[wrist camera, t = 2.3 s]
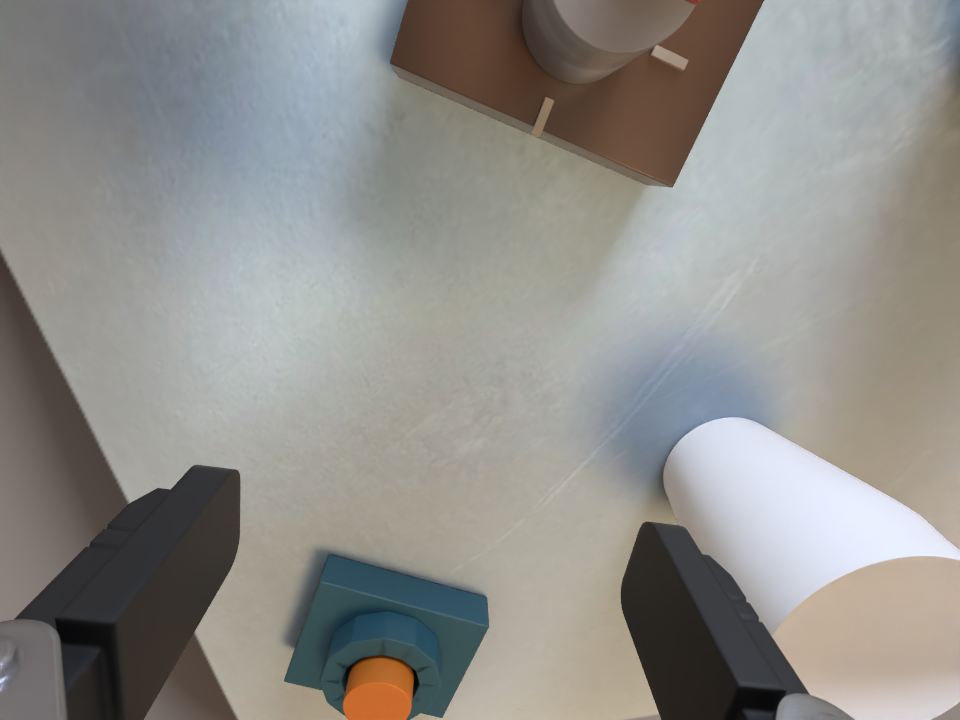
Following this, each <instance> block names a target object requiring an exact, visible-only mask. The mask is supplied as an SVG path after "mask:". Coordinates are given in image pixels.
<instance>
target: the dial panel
mask: <svg viewBox="0 0 960 720" xmlns="http://www.w3.org/2000/svg"><path fill="white" fill-rule="evenodd" d="M763 1H764V0H700V2H698V3H697V4H696V6H695V7H694V9H693V10H692V12H691V13H690V15H689V16H688V18H687V19H686V20H685V21H684V23H683V24H682V25H681V26H680V27H679V28H678V29H677V30H676V31H675V32H674V33H673V34H672V35H670V36H669V37H668V38H666V39H665V40H664V41H662V42H661V43H659V44H658V45H656V46H654V47H653V48H651V49H650V50H648V51H646V52H645V53H643V54H642V55H640V56H638V57H637V58H635V59H634V60H632V61H630V62H629V63H627V64H626V65H624V66H622V67H621V68H619V69H617V70H616V71H614V72H613V73H611V74H609V75H608V76H606V77H604V78H602V79H600V80H597V81H595V82H591V83H585V84H572V83H567V82H563V81H561V80H558V79H556V78H554V77H552V76H551V75H549V74H548V73H547V72H545V71H544V70H543V69H542V68H541V67H540V66H539V65H538V63H537V62H536V61H535V60H534V58H533V56H532V55H531V53H530V51H529V49H528V46H527V44H526V41H525V37H524V33H523V27H522V6H523V0H408V2H407V5H406V8H405V12H404V15H403V19H402V22H401V25H400V29H399V32H398V36H397V39H396V42H395V46H394V49H393V53H392V56H391V60H390V64H391V66H392V67H393V69H394V70H395V72H396V73H397V75H398V76H399V77H400V78H402V79H405V80H407V81H409V82H412V83H414V84H416V85H418V86H421V87H423V88H425V89H428V90H430V91H432V92H435V93H437V94H439V95H441V96H444V97H446V98H448V99H451V100H453V101H455V102H457V103H460V104H462V105H464V106H467V107H469V108H471V109H474V110H476V111H478V112H480V113H483V114H485V115H487V116H490V117H492V118H494V119H496V120H499V121H501V122H503V123H506V124H508V125H510V126H513V127H515V128H517V129H519V130H522V131H524V132H526V133H529V134H531V135H533V136H535V137H538V138H540V139H542V140H545V141H547V142H549V143H552V144H554V145H556V146H558V147H561V148H563V149H565V150H568V151H570V152H572V153H574V154H577V155H579V156H581V157H584V158H586V159H588V160H590V161H593V162H595V163H597V164H600V165H602V166H604V167H607V168H609V169H611V170H613V171H616V172H618V173H620V174H623V175H625V176H627V177H629V178H632V179H634V180H636V181H639V182H641V183H643V184H646V185H652V186H663V187H673V186H674V183H675V181H676V179H677V177H678V175H679V173H680V171H681V169H682V167H683V165H684V163H685V161H686V159H687V157H688V155H689V153H690V151H691V149H692V147H693V145H694V143H695V140H696V138H697V136H698V134H699V132H700V130H701V128H702V126H703V124H704V122H705V120H706V118H707V116H708V114H709V112H710V110H711V108H712V106H713V104H714V102H715V99H716V97H717V95H718V93H719V91H720V89H721V87H722V85H723V83H724V81H725V79H726V77H727V75H728V73H729V71H730V69H731V67H732V65H733V63H734V61H735V59H736V56H737V54H738V52H739V50H740V48H741V46H742V44H743V42H744V40H745V38H746V36H747V34H748V32H749V30H750V28H751V26H752V24H753V22H754V20H755V18H756V15H757V13H758V11H759V9H760V7H761V5H762V3H763Z"/></svg>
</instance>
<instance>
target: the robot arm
mask: <svg viewBox="0 0 960 720" xmlns="http://www.w3.org/2000/svg"><path fill="white" fill-rule="evenodd" d="M239 538H240V474H239V472H238V470H235V469H227V468H218V467H210V466H202V465H194V466H192V467H191V468H190V469H189V470H188V471H187V472H186V474H185V475H184V476H183V477H182V478H181V479H180V480H179V481H178V482H177V483H176V485H175V486H174V487H173V488H172V489H171V490H169V489H161V488H157V489H155V490H153V491H152V492H150V493H148V494H146V495H144V496H142V497H141V498H139V499H137V500H135V501H133V502H131V503H130V504H128V505H127V506H126V507H125V508H124V509H123V510H122V511H121V512H120V513H119V514H118V515H117V516H116V517H115V518H114V519H113V520H112V521H111V522H110V524H108V527H107V529H103V530H102V531H101V532H100V533H99V534H98V535H97V536H96V537H95V538H94V539H93V540H92V541H91V543H90V546H89V547H86V548H85V549H83V550H82V551H81V552H80V553H79V554H78V555H77V557H75V559H73V560H72V562H70V563H69V565H67V566H66V568H65V569H64V570H63V571H62V572H61V573H60V574H59V575H58V576H57V577H56V578H55V579H54V580H53V581H52V582H51V583H50V584H49V585H48V586H47V587H46V588H45V589H44V590H43V591H42V592H41V593H40V594H39V595H38V596H37V597H36V598H35V599H34V600H33V601H32V602H31V603H30V604H29V605H28V606H27V607H26V608H25V609H24V610H23V611H22V612H21V613H20V614H19V615H18V616H17V617H16V618H15V619H14V620H9V621H2V622H0V720H144V718H145V716H146V714H147V712H148V711H149V709H150V707H151V706H152V704H153V702H154V701H155V699H156V697H157V695H158V694H159V692H160V690H161V689H162V687H163V685H164V683H165V682H166V680H167V678H168V676H169V675H170V673H171V671H172V670H173V668H174V666H175V664H176V663H177V661H178V659H179V657H180V656H181V654H182V652H183V650H184V649H185V647H186V645H187V643H188V642H189V640H190V638H191V637H192V635H193V633H194V632H195V630H196V628H197V626H198V625H199V623H200V621H201V619H202V618H203V616H204V614H205V612H206V611H207V609H208V607H209V606H210V604H211V602H212V600H213V599H214V597H215V595H216V593H217V592H218V590H219V588H220V587H221V585H222V583H223V581H224V580H225V578H226V576H227V574H228V573H229V571H230V569H231V567H232V565H233V562H234V560H235V557H236V553H237V549H238V545H239ZM621 605H622V610H623V614H624V617H625V620H626V623H627V625H628V628H629V631H630V634H631V636H632V639H633V642H634V645H635V648H636V650H637V653H638V656H639V659H640V661H641V664H642V667H643V670H644V673H645V675H646V678H647V681H648V684H649V686H650V689H651V692H652V695H653V698H654V700H655V703H656V706H657V709H658V711H659V714H660V717H661V720H854V719H853V718H852V717H851V716H849V715H848V714H847V713H845V712H844V711H843V710H841V709H839V708H838V707H836V706H835V705H833V704H831V703H829V702H827V701H825V700H823V699H820V698H818V697H815V696H812V695H810V694H809V692H808V691H807V689H806V688H805V686H804V685H803V683H802V682H801V680H800V679H799V677H798V676H797V674H796V673H795V671H794V669H793V668H792V666H791V665H790V663H789V662H788V660H787V659H786V657H785V656H784V654H783V653H782V651H781V650H780V648H779V647H778V645H777V644H776V642H775V641H774V639H773V638H772V636H771V635H770V633H769V632H768V630H767V629H766V627H765V626H764V624H763V622H759V616H758V615H757V613H756V612H755V610H754V609H753V607H752V606H751V604H750V603H749V602H746V597H745V595H744V594H743V592H742V591H741V589H740V588H739V586H738V585H737V583H736V582H735V580H734V579H733V577H732V576H731V575H730V574H729V573H728V572H727V571H726V570H725V569H724V568H723V567H722V566H720V565H719V564H718V563H717V562H716V561H715V560H714V559H713V558H712V557H711V556H709V555H704V554H702V553H701V551H700V550H699V548H698V546H697V545H696V543H695V541H694V540H693V538H692V537H691V535H690V533H689V532H688V530H687V529H686V528H685V527H683V526H678V525H670V524H662V523H654V522H645V523H643V524H642V526H641V527H640V530H639V532H638V535H637V538H636V541H635V544H634V547H633V550H632V553H631V556H630V559H629V562H628V565H627V568H626V571H625V574H624V577H623V581H622V586H621Z"/></svg>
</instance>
